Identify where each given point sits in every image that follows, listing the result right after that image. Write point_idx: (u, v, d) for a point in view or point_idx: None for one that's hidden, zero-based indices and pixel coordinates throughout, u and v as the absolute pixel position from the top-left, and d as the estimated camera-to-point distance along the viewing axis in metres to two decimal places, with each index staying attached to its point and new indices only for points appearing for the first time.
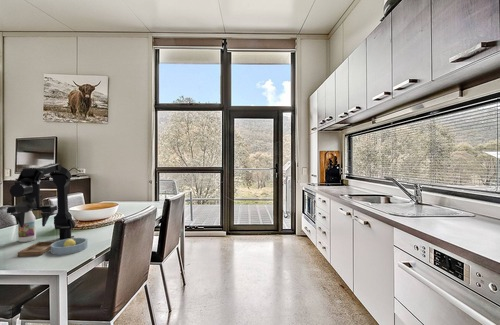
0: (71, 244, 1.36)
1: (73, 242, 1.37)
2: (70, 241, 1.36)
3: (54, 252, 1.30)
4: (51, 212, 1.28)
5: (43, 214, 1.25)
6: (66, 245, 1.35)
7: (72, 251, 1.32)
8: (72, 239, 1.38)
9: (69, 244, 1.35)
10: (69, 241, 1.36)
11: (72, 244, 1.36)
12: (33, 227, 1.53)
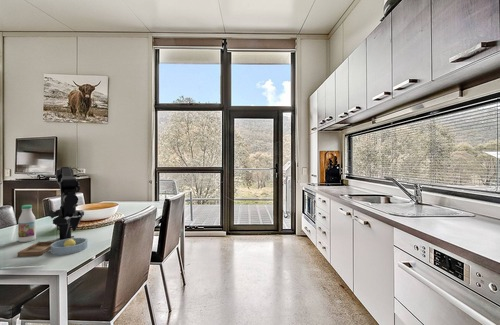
0: (71, 244, 1.36)
1: (73, 242, 1.37)
2: (70, 241, 1.36)
3: (54, 252, 1.30)
4: (61, 224, 1.29)
5: None
6: (66, 245, 1.35)
7: (72, 251, 1.32)
8: (72, 239, 1.38)
9: (69, 244, 1.35)
10: (69, 241, 1.36)
11: (72, 244, 1.36)
12: (33, 227, 1.53)
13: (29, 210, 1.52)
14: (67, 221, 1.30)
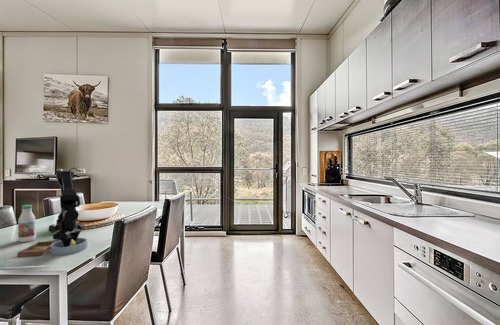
0: (71, 244, 1.36)
1: (73, 242, 1.37)
2: None
3: (54, 252, 1.30)
4: (63, 238, 1.31)
5: None
6: None
7: (72, 251, 1.32)
8: (72, 239, 1.38)
9: None
10: None
11: (72, 244, 1.36)
12: (33, 227, 1.53)
13: (29, 210, 1.52)
14: (67, 236, 1.30)
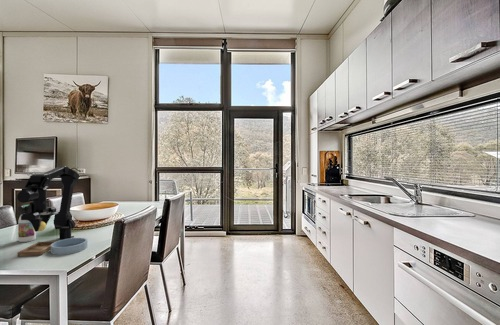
0: (40, 226, 1.34)
1: (43, 224, 1.35)
2: None
3: (54, 252, 1.30)
4: (32, 219, 1.29)
5: None
6: None
7: (72, 251, 1.32)
8: (42, 221, 1.36)
9: None
10: None
11: (42, 226, 1.34)
12: None
13: None
14: (36, 217, 1.27)
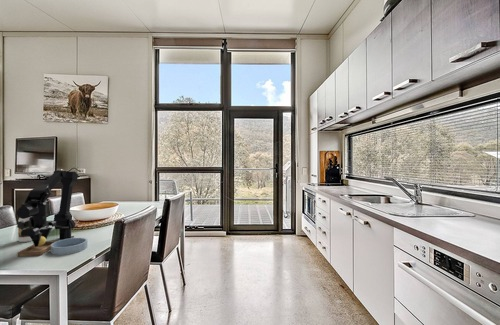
0: (40, 240, 1.34)
1: (43, 239, 1.35)
2: (40, 238, 1.34)
3: (54, 252, 1.30)
4: None
5: None
6: None
7: (72, 251, 1.32)
8: (42, 236, 1.36)
9: (39, 241, 1.33)
10: None
11: (42, 241, 1.34)
12: None
13: None
14: (35, 233, 1.28)
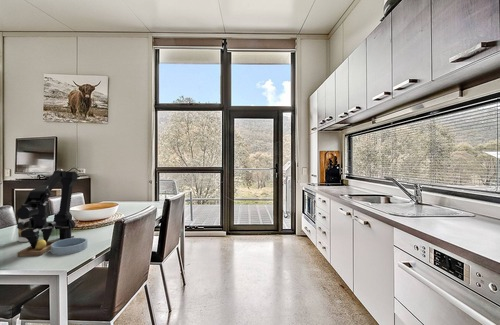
0: (41, 243, 1.34)
1: (43, 242, 1.35)
2: (40, 241, 1.35)
3: (54, 252, 1.30)
4: (29, 237, 1.27)
5: None
6: (36, 245, 1.33)
7: (72, 251, 1.32)
8: None
9: (39, 244, 1.34)
10: (39, 241, 1.34)
11: (42, 244, 1.35)
12: None
13: None
14: (35, 233, 1.28)
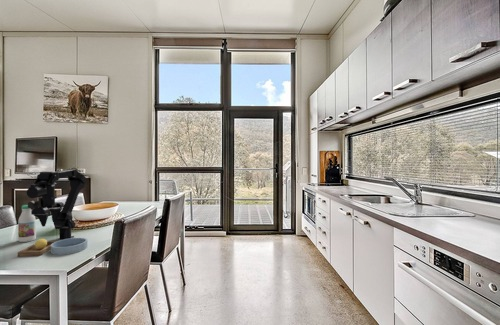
0: (42, 242, 1.35)
1: (45, 241, 1.36)
2: (42, 239, 1.36)
3: (54, 252, 1.30)
4: (39, 215, 1.35)
5: None
6: (37, 243, 1.34)
7: (72, 251, 1.32)
8: None
9: (40, 242, 1.35)
10: (41, 239, 1.36)
11: (43, 242, 1.35)
12: (33, 227, 1.53)
13: (29, 210, 1.52)
14: (45, 212, 1.35)
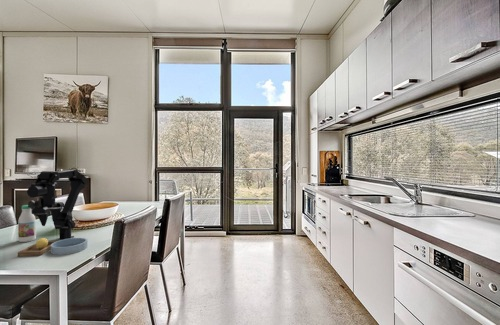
0: (43, 240, 1.36)
1: (46, 240, 1.38)
2: (44, 238, 1.37)
3: (54, 252, 1.30)
4: (39, 214, 1.35)
5: None
6: (39, 241, 1.35)
7: (72, 251, 1.32)
8: None
9: (42, 240, 1.36)
10: (43, 238, 1.37)
11: (45, 241, 1.36)
12: (33, 227, 1.53)
13: (29, 210, 1.52)
14: (45, 211, 1.35)
